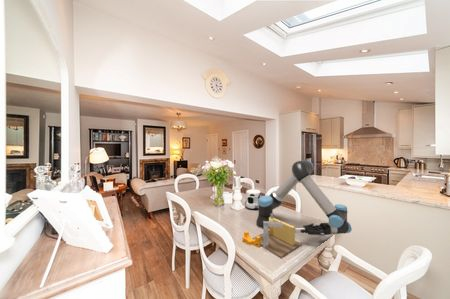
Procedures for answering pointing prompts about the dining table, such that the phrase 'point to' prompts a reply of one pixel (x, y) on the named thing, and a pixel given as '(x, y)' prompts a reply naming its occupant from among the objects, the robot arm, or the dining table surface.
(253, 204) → the white rounded appliance
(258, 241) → the pipe clamp
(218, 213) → the dining table surface
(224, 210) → the dining table surface
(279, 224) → the hook
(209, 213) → the dining table surface
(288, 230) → the hinged door
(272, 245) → the board
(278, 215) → the dining table surface
